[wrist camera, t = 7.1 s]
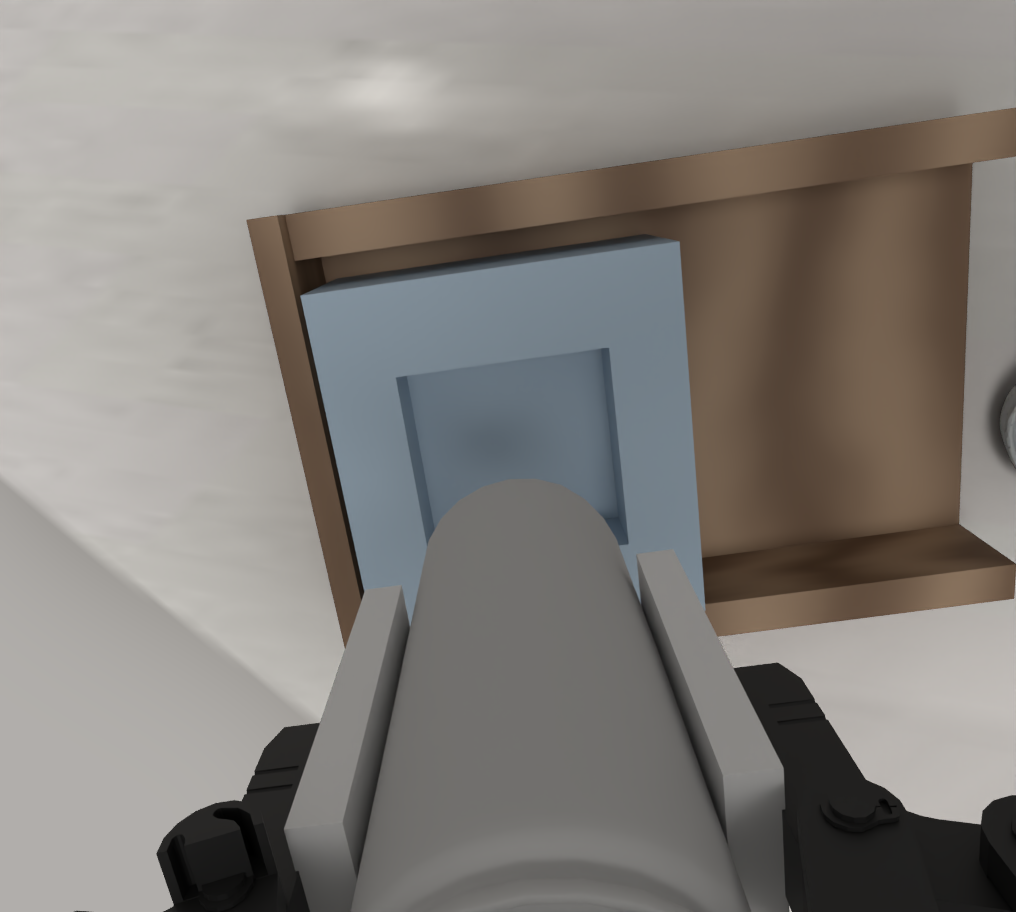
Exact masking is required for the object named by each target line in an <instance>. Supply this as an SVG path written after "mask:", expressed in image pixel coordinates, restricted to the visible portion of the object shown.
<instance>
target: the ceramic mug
mask: <svg viewBox="0 0 1016 912" xmlns="http://www.w3.org/2000/svg"><path fill="white" fill-rule="evenodd" d="M1000 430H1001V435H1002V439H1003V442H1004V444H1005V447H1006V450H1007V453H1008V455H1009V458H1010V460H1011V461H1012V463H1013V465H1014V467H1015V468H1016V385H1015V386H1014V387H1013V388H1012V390H1011V391H1010V392H1009V394H1008V396H1007V398H1006V400H1005V402H1004V405H1003V408H1002V412H1001V416H1000Z"/></svg>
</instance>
